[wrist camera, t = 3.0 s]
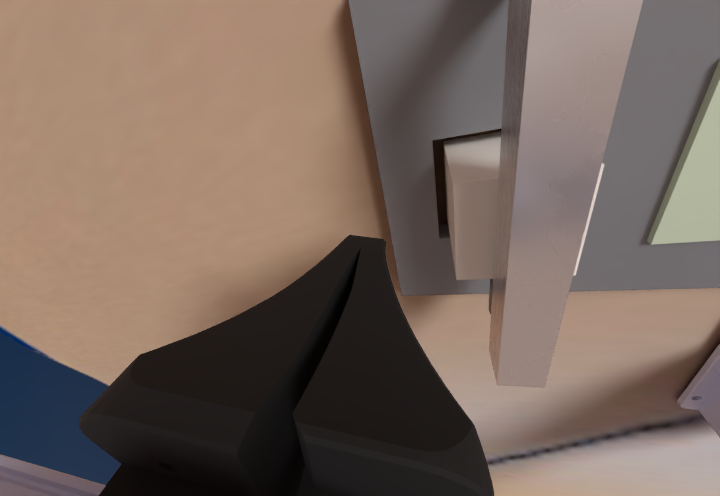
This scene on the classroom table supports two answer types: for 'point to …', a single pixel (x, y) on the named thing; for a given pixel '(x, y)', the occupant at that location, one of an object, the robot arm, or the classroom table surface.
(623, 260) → the socket plate
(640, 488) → the classroom table surface
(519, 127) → the ball-topped lever
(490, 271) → the plug
